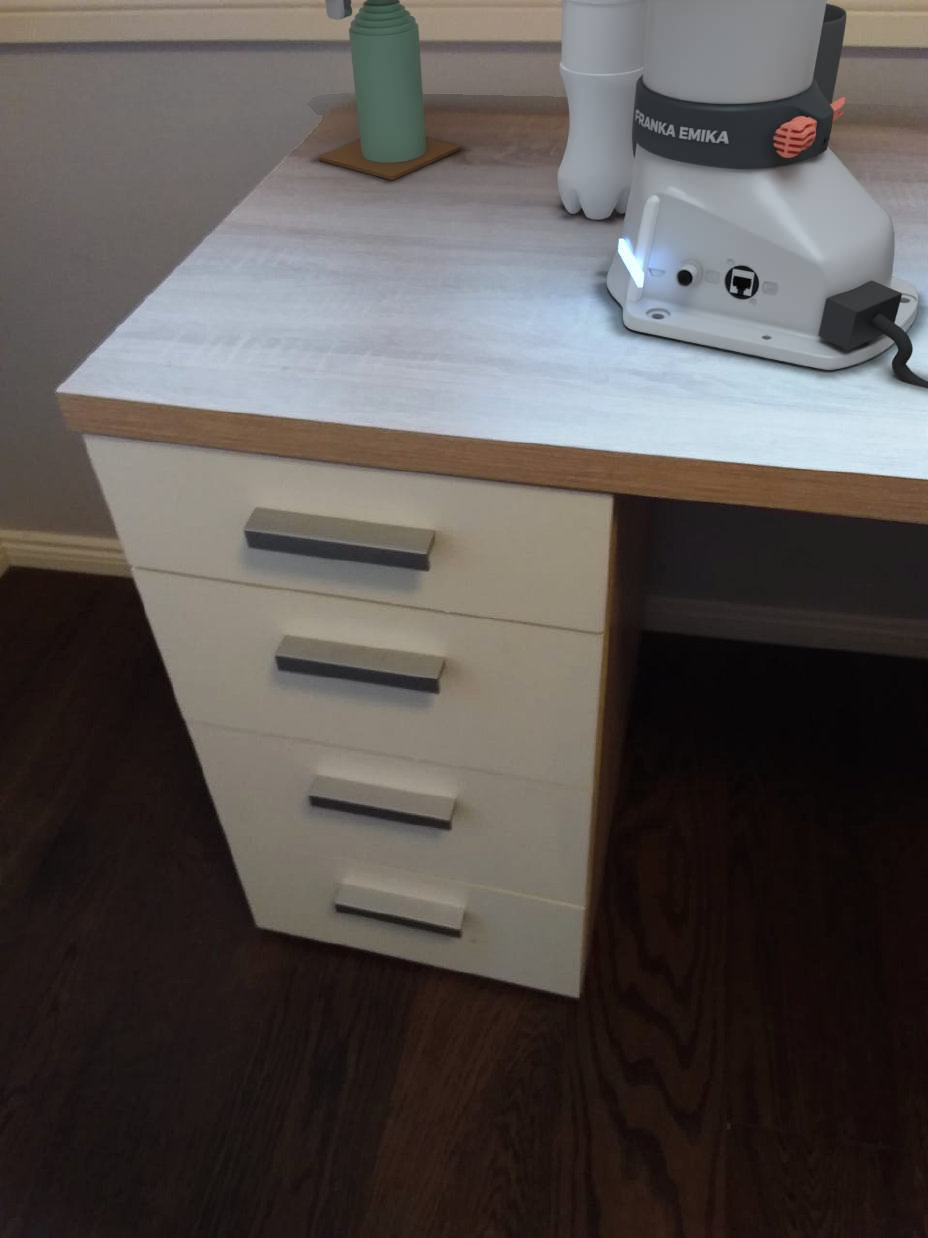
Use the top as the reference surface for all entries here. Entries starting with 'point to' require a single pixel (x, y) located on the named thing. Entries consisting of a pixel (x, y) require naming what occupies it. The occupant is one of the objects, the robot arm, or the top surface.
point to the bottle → (388, 82)
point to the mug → (830, 50)
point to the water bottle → (600, 101)
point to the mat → (354, 160)
